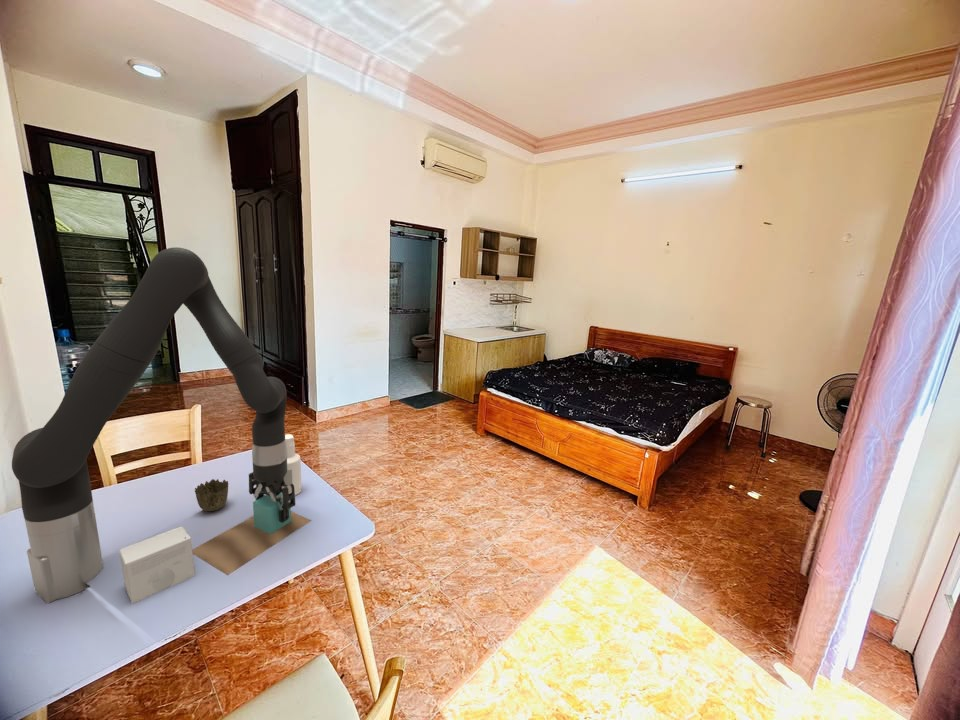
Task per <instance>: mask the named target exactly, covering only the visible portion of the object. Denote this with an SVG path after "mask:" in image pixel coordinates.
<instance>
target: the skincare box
mask: <svg viewBox="0 0 960 720" xmlns="http://www.w3.org/2000/svg"><path fill="white" fill-rule="evenodd" d="M192 545H193V544H192V537H191V536H190V534H189V533H188V531H187V530H186V528H185V526H183V525H181V526H179V527H176V528H175V527H174V529H169V530H168V531H165V532H162V533H160V534H157V535H154V536H152V537H149V538H147V539H143V540H140V541H139V542H136V543H133V544H130V545H128V546H125V547H122V548H119V550H118V551H119V557H120V563H121V567H122V568H121V569H122V570H121V571H122V574H123V575H122V576H123V581H124V588H125V592H126V594H127V595H128V598H129V601H130V602H131V604H134V603H137V602H139V601H141V600H143V599H146V598H148V597H150V596H153V595H155V594H157V593H159V592H161V591H163V590H166V589H169V588H171V587H172V586H175V585H177V584H179V583H181V582H183V581H186V580H188V579H190V578H192V577H194V576H196V571H195V562H194V554H193V552H192V550H193V546H192Z"/></svg>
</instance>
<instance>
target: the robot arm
mask: <svg viewBox="0 0 960 720" xmlns="http://www.w3.org/2000/svg"><path fill="white" fill-rule="evenodd" d="M210 278H211V277H210V276H209V271H208V268H207V267H206V264H205V263H204V261H203V260H202V259H201V257H199V256H198V254H196V253H195V252H194V251H191V250H190V249H187V248H184V247H169V248H165V249H162V250H161V251H159V252H158V253H157V254H155V255H154V256H153V258H152V259H151V261H150V263H149V265H148V267H147V269H146V271H145V272H144V274H143V277H142V278H141V280H140V281H139V284H138V285H137V287H136V289H135V290H134V292H133V294H132V296H131V297H130V299H129V300H128V301H127V302H126V304H125V305H124V306H123V307H122V308H121V309H120V311H119V312H117V314H116V315H115V316H114V318H113V319H112V320H111V321H110V323H109V324H108V325H107V326H106V327H105V329H104V330H103V331H102V332H101V333H100V335H99V336H98V337H97V339H96V340H95V341H94V342H93V344H92V345H91V347H89V349H88V350H87V352H86V353H85V355H84V356H83V358H82V359H81V361H80V362H79V364H78V366H77V368H76V370H75V371H74V374H73V376H72V378H71V379H70V381H69V383H68V385H67V388H66V391H65V393H64V395H63V398H62V400H61V402H60V403H59V406H58V408H57V409H56V411H55V412H54V413H53V415H52V416H51V418H50V419H49V420H47V422H46V423H45V425H44V426H43V427H40V428H36V429H35V430H32V431H30V432H28V433H26V434H25V435H24V436H22V437H21V438H20V439H19V441H17V443H16V445H15V446H14V448H13V452H12V453H13V454H12V460H11V470H12V472H13V474H14V477H15V478H16V479H17V480H18V482H19V483H18V485H19V491H20V499H21V501H20V502H21V509H22V513H23V518H24V523H25V528H26V533H27V538H28V543H29V547H30V548H28V549H27V550H26V553H27V558H28V564H29V568H30V573H31V577H32V578H31V579H32V582H33V583H32V584H33V588H34V591H35V592H36V593H37V594H38V595H39V596H40V597H41V599H43V600H44V601H45V602H46V603H48V604H49V603H52V602H54V601H56V600H59V599H64V598H68V597H70V596H73V595H75V594H78V593H80V592H82V591H85V590H86V589H89V588H90V587H91V586H90V584H88V583H89V582H90V581H92V580H93V579H94V578H96V577H97V576H98V575H100V573H101V572H102V570H103V568H104V560H103V556H102V550H101V549H102V548H101V542H100V537H99V529H98V525H97V524H98V523H97V517H96V513H95V507H94V500H93V499H94V498H93V492H92V491H93V490H92V485H91V484H92V483H91V479H90V474H89V469H88V468H89V467H88V461H87V458H88V456H89V455H90V453H91V451H92V448H93V447H94V445H95V443H96V441H97V440H98V438H99V435H101V433H102V430H103V428H104V427H105V426H106V424H107V422H108V421H109V420H110V418H111V417H112V415H113V414H114V413H115V412H116V410H117V409H118V408H119V407H120V406H121V404H122V403H123V402H124V400H126V398H127V396H128V395H129V394H130V393H131V391H132V390H133V388H134V387H135V386H136V384H137V383H138V381H139V380H140V379H141V378H142V376H143V375H144V374H145V372H146V370H147V369H148V368H149V366H150V365H151V363H152V361H153V360H154V358H155V357H156V354H157V352H158V351H159V349H160V346H161V344H162V342H163V339H164V338H165V335H166V332H167V329H168V327H169V325H170V324H171V323H170V322H171V321H172V319H173V318H174V316H175V314H176V313H177V312H178V310H179V309H180V308H181V307H182V305H184V306H185V307H186V308H187V310H188V311H189V312H190V313H191V314H192V315H193V317H194V318H195V320H196V321H197V322H198V324H199V325H200V327H201V329H202V331H203V332H204V334H205V336H206V338H207V339H208V341H209V343H210V344H211V346H212V348H213V349H214V350H215V352H216V354H217V355H218V357H219V358H220V360H221V361H222V362H223V364H224V365H225V367H227V369H228V371H229V372H230V373H231V375H232V376H233V378H234V381H235V385H236V386H237V388H238V390H239V393H240V395H241V397H242V399H243V401H244V402H245V404H246V405H247V406H248V407H249V408H250V409H251V410H252V411H255V413H256V414H255V418H254V420H253V422H252V426H251V434H252V437H251V438H252V449H251V455H252V456H251V457H252V472H250V473H249V474H248V492H249V494H250V495H253V498H254V499H255V501H256V500H258V499H259V498H261V497H263V496H265V495H268V496H270V497H271V498H272V500H273V502H274V503H276V504H277V506H278V508H279V522H281V523H283V522H285V521H286V520H288V518H289V509H290V508H291V509H292V508H293V507H295V506H296V495H295V491H294V485H293V484H290V485H286V484H285V481H284V477H285V475H286V473H287V447H286V442H285V435H286V428H285V427H286V426H285V416H286V411H287V410H286V408H287V400H288V399H287V398H288V397H287V396H288V394H287V388H286V384H285V383H284V382H283V381H282V379H280V378H278V377H276V376H267V375H266V373H265V371H264V363H265V362H264V360H263V358H262V356H261V355H260V354H259V352H258V350H257V349H256V347H255V346H254V344H253V343H252V342H251V340H250V339H249V337H248V336H247V334H246V333H245V332H244V331H243V329H242V328H241V327H240V325H239V324H238V323H237V321H235V319H234V318H233V316H232V315H231V314H230V313H229V311H228V310H227V308H226V307H225V306H224V304H223V302H222V300H221V298H220V297H219V296H218V293H217V291H216V289H215V287H214V285H213V283H212V281H211V279H210ZM281 492H282V493H281ZM280 493H281V494H283V495H282V496H281V497H279V498H277V497H276V496H277V495H279V494H280ZM281 499H283V504H282V503H281ZM289 500H290V501H289Z"/></svg>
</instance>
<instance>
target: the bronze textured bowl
mask: <svg viewBox="0 0 960 720" xmlns="http://www.w3.org/2000/svg"><path fill="white" fill-rule="evenodd" d="M194 493H195V498H196V501H197V504H198V506H199V508H200V509H201V510H203V511H206V512H215V511H218V510H219V509H221V508H222V507H223V506H224V505H225V504H226V503H227V500H228V494H229V481H228V480H226V479H223V480H222V481H219V479H214V478H212V479H211V480H210V481H209V482H208V480H205V482H204V483H200V484H198V485H197V486H196V487H195V488H194Z"/></svg>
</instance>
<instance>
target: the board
mask: <svg viewBox="0 0 960 720" xmlns="http://www.w3.org/2000/svg"><path fill="white" fill-rule="evenodd" d="M311 521H312V519H309V518H307V517H305V516H303V515H301V514H298V513H296V512H295V511H292V510H291V522H290V523H288V524H286V525H285V526H283V527H282V528H280V529H278V530H277V531H275V532H273V533H272V534H268V533H266V532H264V531H262V530H261V529H259V528H257V527H255V526H254V515H252V516H251V517H249V518H248V519H245V520H244V521H242V522H240V523H238V524H236V525H235V526H233V527H231V528H229V529H227V530H226V531H223V532H222V533H220V534H218V535H216V536H214V537H213V538H210V539H209V540H207V541H206V542H203V543H202V544H200V545H198V546H196V547H195V548H192V552H193V556H196V557H197V558H199V559H201V560H202V561H204V562H205V563H207V564H209V565H210V566H212V567H214V568H215V569H216V570H219V571H220V572H221V573H223V574H225V575H227V576H229V575H230V574H232V573H234V571H237V570H238V569H240V568H241V567H243V566H245V565H246V564H248V563H249V562H251V561H252V560H254V559H255V558H257V557H258V556H260V555H261V554H262V553H264V552H266V551H267V550H269V549H270V548H272V547H273V546H275V545H277V544H278V543H279V542H281V541H283V540H284V539H285V538H287V537H289V536H290V535H292V534H294V533H295V532H296V531H298V530H299V529H301V528H302V527H304V526H306V525H307V524H309V523H311Z"/></svg>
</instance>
